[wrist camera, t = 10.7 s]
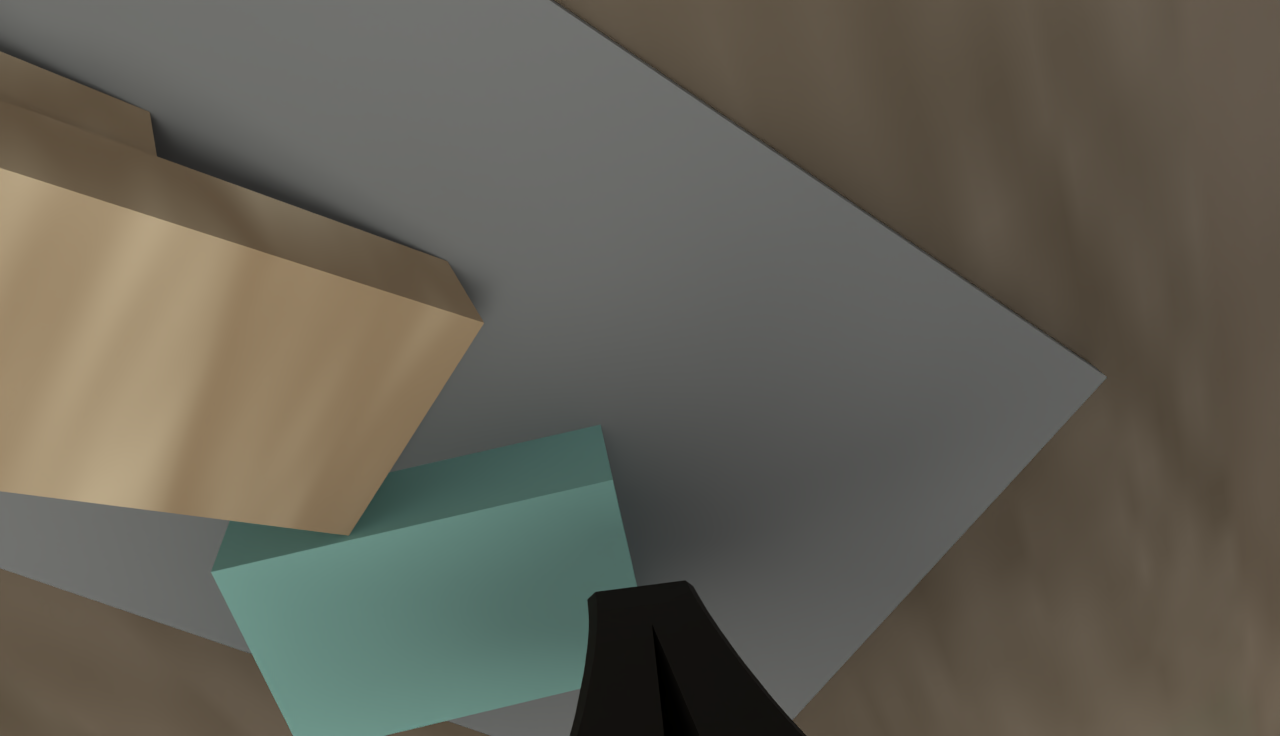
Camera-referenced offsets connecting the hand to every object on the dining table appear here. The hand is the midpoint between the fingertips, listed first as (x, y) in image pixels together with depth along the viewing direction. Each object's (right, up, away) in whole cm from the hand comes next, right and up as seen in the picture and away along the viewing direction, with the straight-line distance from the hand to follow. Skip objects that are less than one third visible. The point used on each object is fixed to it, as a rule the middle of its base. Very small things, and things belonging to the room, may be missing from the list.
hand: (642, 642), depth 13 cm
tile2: (-4, +3, +1) cm, 5 cm away
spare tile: (0, +1, +3) cm, 3 cm away
